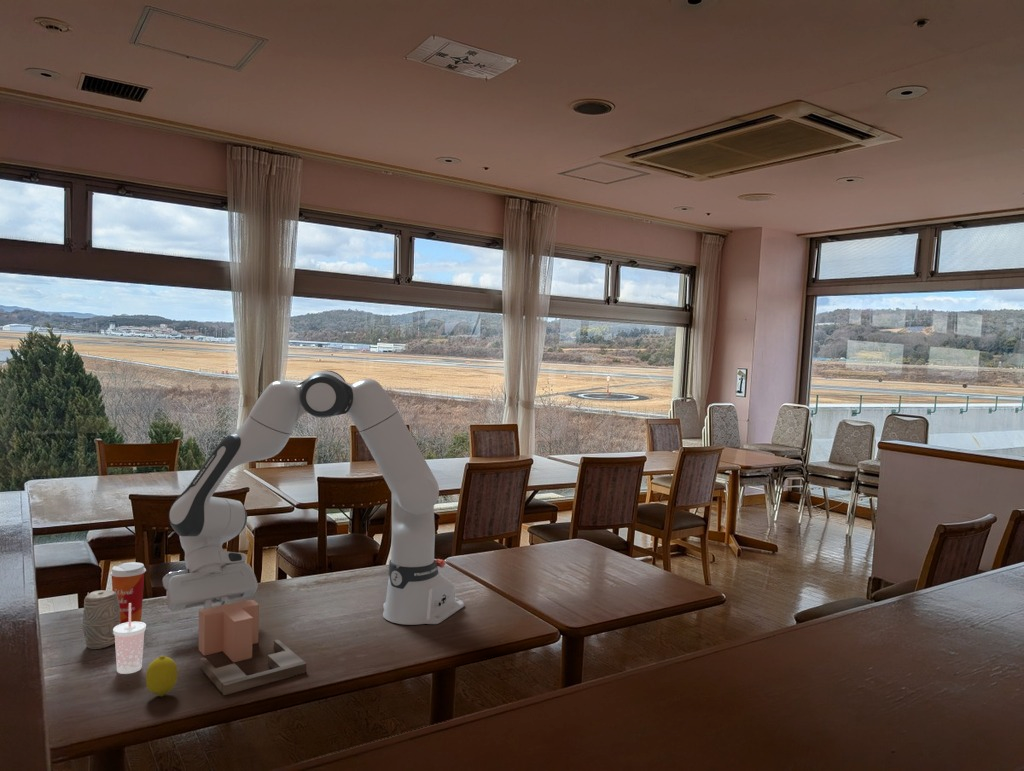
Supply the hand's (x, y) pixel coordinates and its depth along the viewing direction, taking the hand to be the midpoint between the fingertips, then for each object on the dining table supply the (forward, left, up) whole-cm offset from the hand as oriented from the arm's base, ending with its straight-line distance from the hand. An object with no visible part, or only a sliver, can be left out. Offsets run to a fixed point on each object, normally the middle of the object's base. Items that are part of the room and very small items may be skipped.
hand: (219, 618), depth 169 cm
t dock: (+5, +19, -4) cm, 21 cm away
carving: (+19, -16, -5) cm, 25 cm away
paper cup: (+9, -24, -5) cm, 26 cm away
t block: (+2, +9, -4) cm, 11 cm away
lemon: (+23, +16, -5) cm, 29 cm away
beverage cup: (+21, 0, -5) cm, 22 cm away
